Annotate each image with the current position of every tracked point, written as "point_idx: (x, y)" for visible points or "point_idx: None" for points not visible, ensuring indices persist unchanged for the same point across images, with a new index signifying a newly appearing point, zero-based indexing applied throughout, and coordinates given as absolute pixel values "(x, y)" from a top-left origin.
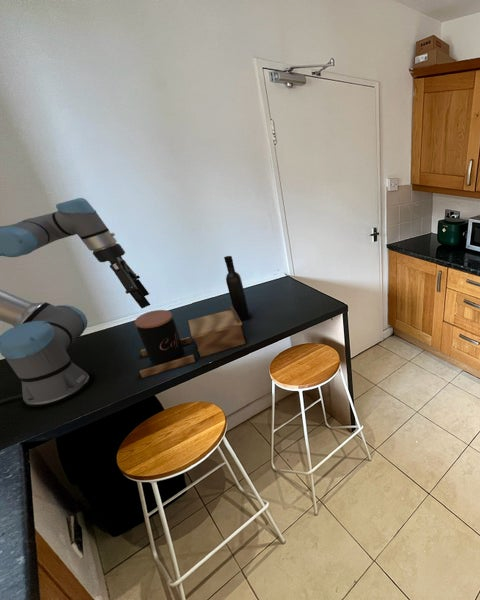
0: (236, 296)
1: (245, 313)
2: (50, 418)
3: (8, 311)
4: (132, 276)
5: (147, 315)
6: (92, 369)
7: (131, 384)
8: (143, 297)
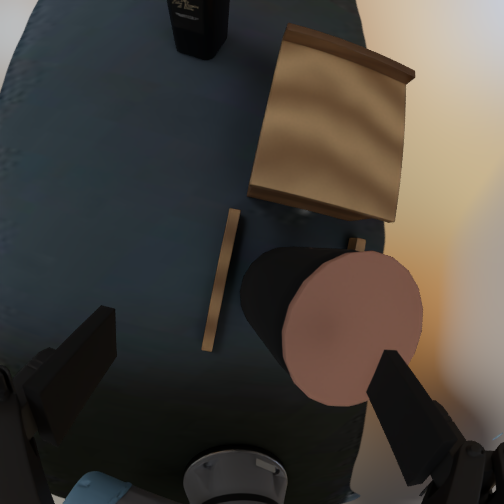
0: None
1: (226, 26)
2: (323, 480)
3: None
4: (30, 455)
5: (321, 356)
6: (185, 436)
7: None
8: (422, 394)
